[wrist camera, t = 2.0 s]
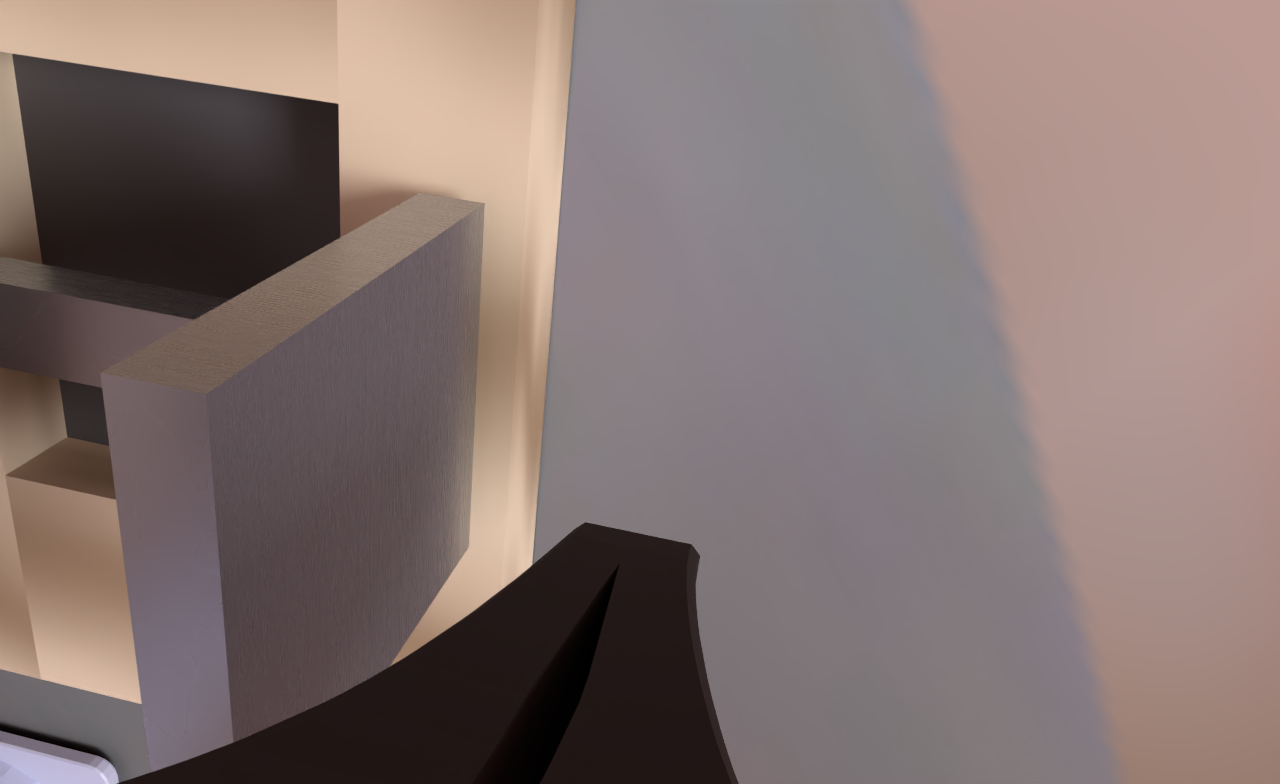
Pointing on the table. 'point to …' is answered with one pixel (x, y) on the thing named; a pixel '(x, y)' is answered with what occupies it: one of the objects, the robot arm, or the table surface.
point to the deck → (262, 240)
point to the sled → (276, 460)
